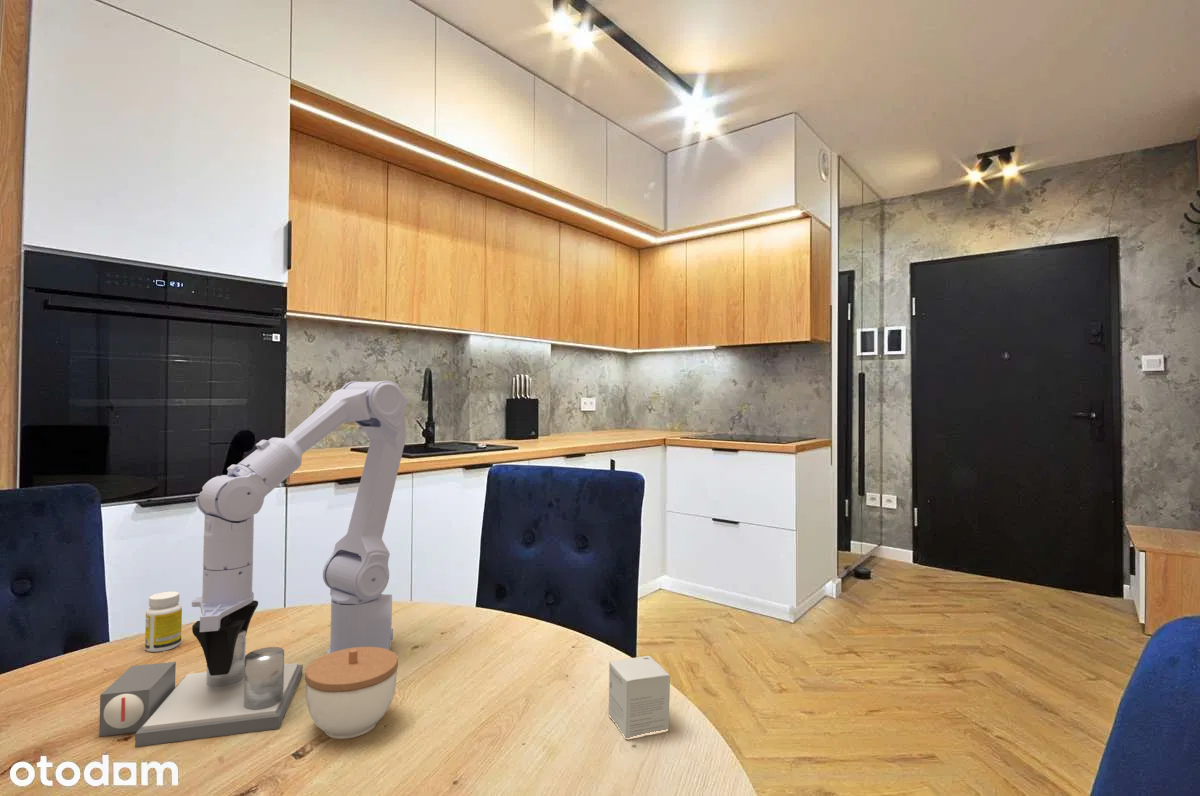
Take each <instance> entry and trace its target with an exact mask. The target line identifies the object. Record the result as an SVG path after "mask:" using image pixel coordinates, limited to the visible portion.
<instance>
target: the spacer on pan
mask: <svg viewBox="0 0 1200 796" xmlns="http://www.w3.org/2000/svg"><path fill="white" fill-rule="evenodd" d="M284 664H285V649H284V648H282V647H278V646H270V647H262V648H257V649H255V650H252V651H250V652H248V653H247V654H245V675H244V707H245V708H246V709H249V710H260V709H265V708H269V707H272V706H274V705H276V704H278V703H279V702H281V701H282V699H283V685H284Z"/></svg>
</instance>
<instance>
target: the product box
mask: <svg viewBox="0 0 1200 796" xmlns="http://www.w3.org/2000/svg"><path fill="white" fill-rule="evenodd" d="M608 666H609V667H608V668H609V671H608V672H609V674H608V675H609V676H608V677H609V679H608V716H609V715H610V716H611V718H612V719H613V720H614V721H615V723H616V724H617V725H618V727H619V728H620V730H621V731H622V733H623V734H624V736H625V738H630V737H633V736H637V735H641V734H645V733H650V732H654V731H655V732H656V731H661V730H666V729H669V730H670V726H669V725H670V698H671V697H670V694H671V693H670V689H671V675H670V674H669V673H668V672H667V671H666V670H665V669H664V668H663V667H662V665H661V664H659V662H657V661H656V660H654V658H653V657H652V656H650V655H644V656H638V657H637V656H636V657H632V658H631V657H630V658H623V659H617V660H612V661H609V665H608Z"/></svg>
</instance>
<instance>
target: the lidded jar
mask: <svg viewBox="0 0 1200 796" xmlns="http://www.w3.org/2000/svg"><path fill="white" fill-rule="evenodd" d="M398 666H399V658H398V655H397V654H396V653H395V652H393V651H392V650H391V649H390V650H387V649H384V648H379V647H355V648H348V649H343V650H339V651H335V652H332V653H329V654H327V653H326V654H323V655H322V656H320V657H317V659H315V660H313V661H312V662H310V664H308V666H307V667H306V669H305V673H304V680H305V698H306V705H307V708H308V713H309V715H310V717H311V719H312V721H313V722H314V724H315V725H316V726H317V727H318V728H319V729H320V730H322V731H324V734H325V735H326V736H327V737H329V738H331V739H336V740H348V739H354V738H357V736H358V737H361V736H363V735H365V733H366V734H367V733H369V732H371V731H372V730H373V729H374V728H376V726H377V724H378V723H379V721H380V720H381V719H382V718H383V717H384V716H385V714H386V713H387V712H388V710H389V708H390V706H391V704H392V702H393V698H394V695H395V691H396V685H397V674H398V673H397V669H398ZM370 730H371V731H370ZM360 735H361V736H360Z"/></svg>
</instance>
